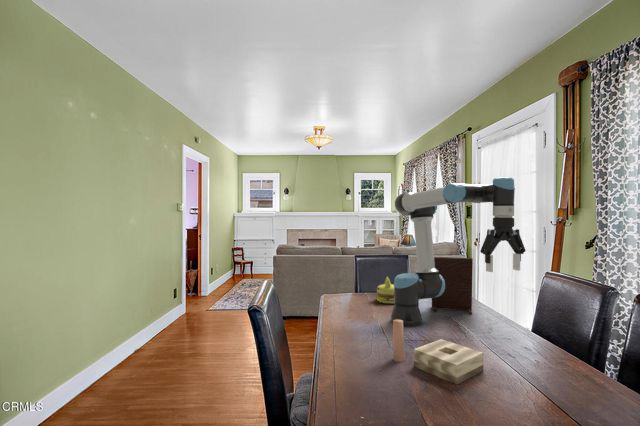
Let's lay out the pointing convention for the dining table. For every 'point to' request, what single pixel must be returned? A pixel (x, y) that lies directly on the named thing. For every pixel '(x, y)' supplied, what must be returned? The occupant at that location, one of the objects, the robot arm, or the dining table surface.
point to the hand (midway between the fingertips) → (503, 270)
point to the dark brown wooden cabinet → (454, 283)
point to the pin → (398, 340)
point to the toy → (385, 292)
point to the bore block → (448, 360)
